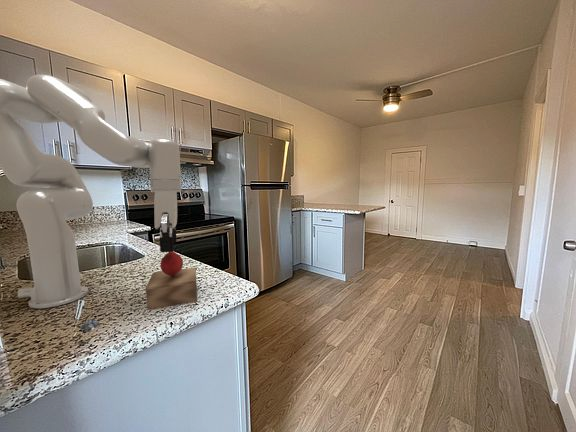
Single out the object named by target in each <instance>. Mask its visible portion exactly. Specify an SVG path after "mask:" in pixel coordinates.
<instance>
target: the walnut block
mask: <svg viewBox="0 0 576 432" xmlns="http://www.w3.org/2000/svg"><path fill="white" fill-rule="evenodd" d="M197 285H198V284H197V268H196V266H195V267H188V268H182V269H181V270H180V271H179V272H178V273H177V274H176V275H175V276H174V277H171V276H169V275H167V274H165V273H164V272H163V271H162V270H161V271H154V272H152V274H151V276H150V278H149V280H148V282H147V284H146V285H145V295H146V296H145V297H146V307H147V310H149V311H150V310H154V309H159V308H167V307H172V306H179V305H184V304H191V303H196V302H197V300H198V292H197V291H198V289H197V288H198V286H197Z"/></svg>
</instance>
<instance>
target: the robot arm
mask: <svg viewBox="0 0 576 432" xmlns="http://www.w3.org/2000/svg"><path fill="white" fill-rule="evenodd" d="M12 117H13V118H17V119H21V120H25V121H28V122H29V121H30V122H33V123H39V124H52V123H62V122H63V123H64V124H65V125H68V126H69V127H70V128H71V129H73V130H74V131H76V134H77V136H78V137H79V139H80V140H81V142H82V143H83V144H84V145H85V146H87V147H88V148H89V149H90V150H92V151H93V152H95V153H97V154H98V155H99V156H101V157H102V158H103V159H105V160H106V161H108V162H110V163H112V164H115V165H118V166H120V167H121V166H122V167H131V168H137V169H148V168H149V181H150V182H149V183H150V185H149V186H150V193H154V199H153V200H154V201H153V203H154V205H153V208H154V212H153V213H154V214H153V215H154V219H153V220H154V228H155V230H158V229H159V252H160V253H168V252H173V251H174V252H175V246H174V245H175V244H177V230H176V226H177V223H178V193H181V192H182V180H181V179H182V178H181V176H182V175H181V174H182V173H181V157H180V156H181V152H180V151H181V150H180V145H179V143H177V141H175V140H170V139H166V138H165V139H164V138H163V139H162V138H154V139H151V140H149V141H145V140H143V139H138V138H136V137H133V136H129V135H125V134H124V133H122V132H121V131H119V130H117V128H114V127H113V126H112V125H111V124H109V123H107V122H106V115H105V111H103V109H102V108H100V107H99V106H97V104H95V103H93V101H92V99H91V97H90V96H89V95H88V94H87V93H86V92H85V91H84V90H83V89H81V88H78V87H77V86H74V85H72V84H71V83H68V82H66V81H65V80H62V79H60V78H58V77H55V76H52V75H49V74H34V75H32V76H30V77H29V78H28V79H27V81H26V84H25V87H24V86H22V85H19V84H18V83H14V82H11V81H8V80H6V79H3V78H0V170H2V172H3V174H4V175H5V176H6V178H7V180H9V182H10V183H12V184H14V185H16V186H19V187H25V188H26V187H33V188H34V187H35V188H34V189H29V190H27V191H25V192H24V193H21V195H20V196H19V197H18V198H17V200H16V210H17V214H18V216H19V218H20V221H21V223H22V225H23V228H24V231H25V235H26V240H27V247H28V252H29V259H30V265H31V266H30V267H31V273H32V279H33V285H34V286H33V287H24V288H19V289H18V290H17V298H18V299H22V298H27V297H29V298H30V299H29V300H28V302H27V303H28V307H29V308H32V309H48V308H53V307H58V306H62V305H63V306H64V305H67V304H69V303H73V302H75V301H77V300H80V299H82V298H83V297H85V296H86V295H88V293H89V288H88V287H87V286H86V285H81V276H80V269H79V260H78V251H77V244H76V238H75V234H74V231H73V229H72V228H71V227H70V225H69V224H68V223H67V221H70V220H76V219H81V218H84V217H87V216H88V215H89V214H91V212H92V210H93V207H94V205H93V204H94V203H93V199H92V195H91V193H90V192H89V190H88V188H87V186H86V185H85V183H84V181H83V179H82V178H81V176H80V174H79V172H78V171H77V168H76V167H75V166H74V164H73V163H71V162H70V161H69V160H68V159H66V158H64V157H62V156H59V155H55V154H49V153H44V152H42V151H40V149H39V148H38V147H37V145H36V144H35V143H34V140H33V139H32V137H31V135H30V134H29V133H28V131H27V130H25V129H24V128H23V126H21V124H19V123H18V122H17V121H15V120H14V119H13V118H12ZM37 187H38V188H37Z"/></svg>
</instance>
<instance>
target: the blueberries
mask: <svg viewBox="0 0 576 432" xmlns="http://www.w3.org/2000/svg"><path fill="white" fill-rule="evenodd" d="M98 326H100V321H98V320H97V319H96V320H95V319H91V318H90V319H87V320H86V321H84V323H83V324H81V325H80V330H82V333H83V334H84V333H88V332H90V331H92V330H94V329H95V328H97V327H98ZM72 331H73V330H72V329H71V330H70V332H72Z"/></svg>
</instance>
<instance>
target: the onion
mask: <svg viewBox="0 0 576 432" xmlns="http://www.w3.org/2000/svg"><path fill="white" fill-rule="evenodd" d="M183 266H184V261H183V257H181V255H179V254H178V253H177V252H175V250H174V251H173V252H166V254H164V256H163V257H162V258H161V260H160V269H161V271H163V272H164V273H165V274H167V275H169V276H171V277H174V276H175V275H176V274H177V273H178V272H179V271H180V270H181V269H183Z"/></svg>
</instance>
